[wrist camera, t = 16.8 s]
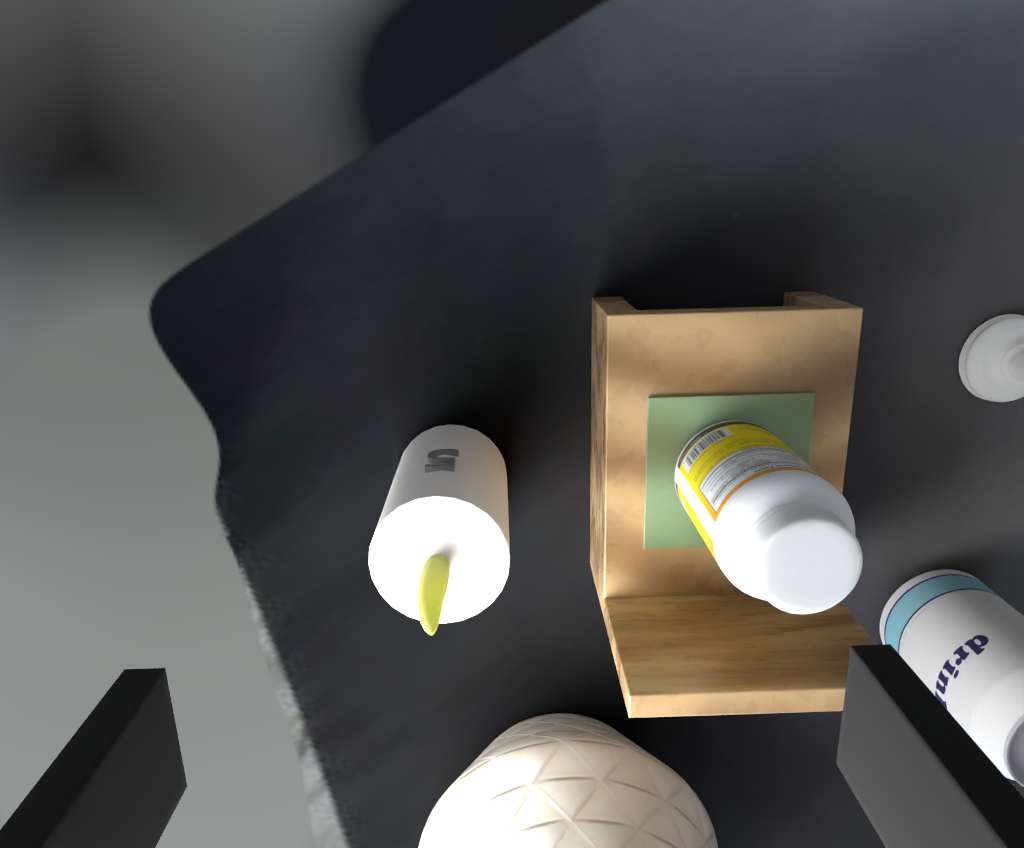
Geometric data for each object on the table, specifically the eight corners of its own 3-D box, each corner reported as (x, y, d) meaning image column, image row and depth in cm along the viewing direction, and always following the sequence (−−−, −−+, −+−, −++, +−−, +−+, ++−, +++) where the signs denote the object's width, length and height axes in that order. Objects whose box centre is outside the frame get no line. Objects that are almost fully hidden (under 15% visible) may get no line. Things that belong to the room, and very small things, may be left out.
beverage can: (902, 547, 46) (1038, 667, 34) (1003, 579, 47) (1168, 706, 35) (852, 642, 48) (965, 786, 36) (949, 671, 48) (1090, 820, 37)
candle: (505, 418, 43) (509, 534, 29) (508, 524, 45) (514, 681, 30) (393, 422, 43) (341, 539, 28) (402, 528, 45) (357, 687, 30)
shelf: (591, 297, 41) (637, 350, 28) (812, 291, 41) (965, 340, 28) (590, 563, 46) (628, 719, 32) (788, 557, 46) (908, 709, 32)
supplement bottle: (768, 528, 38) (861, 644, 29) (660, 513, 38) (717, 625, 28) (796, 424, 37) (905, 509, 27) (685, 407, 36) (754, 488, 27)
